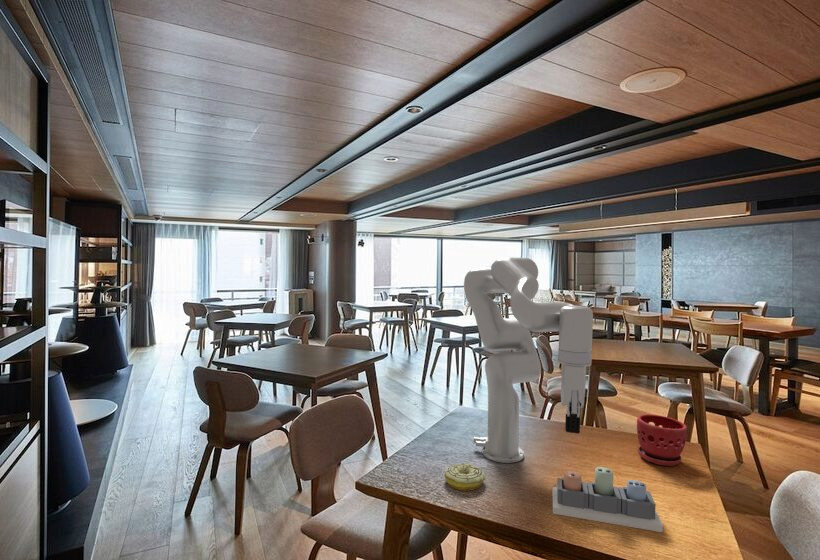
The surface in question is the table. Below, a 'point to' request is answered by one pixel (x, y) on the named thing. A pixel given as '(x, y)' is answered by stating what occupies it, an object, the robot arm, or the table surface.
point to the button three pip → (636, 490)
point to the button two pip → (603, 481)
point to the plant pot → (661, 439)
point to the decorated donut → (464, 476)
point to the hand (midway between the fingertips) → (572, 431)
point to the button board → (606, 506)
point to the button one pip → (572, 481)
